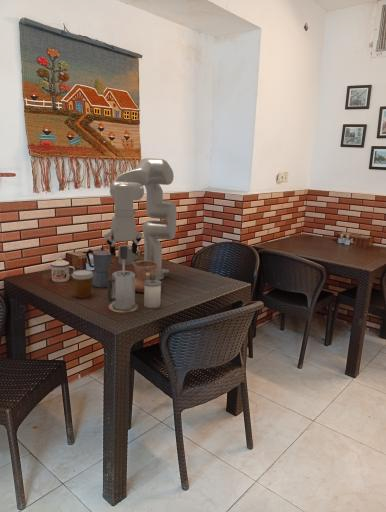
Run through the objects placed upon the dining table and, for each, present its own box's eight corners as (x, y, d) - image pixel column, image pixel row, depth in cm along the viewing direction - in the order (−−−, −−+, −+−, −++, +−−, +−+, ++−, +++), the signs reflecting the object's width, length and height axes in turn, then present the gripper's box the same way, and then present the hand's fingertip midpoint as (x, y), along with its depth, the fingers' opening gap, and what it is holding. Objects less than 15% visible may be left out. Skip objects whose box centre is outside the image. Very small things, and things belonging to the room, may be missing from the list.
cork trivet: (130, 301, 182) (130, 299, 182) (143, 310, 172) (143, 309, 171) (103, 305, 175) (103, 304, 175) (115, 316, 165) (115, 314, 164)
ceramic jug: (162, 296, 190) (163, 267, 187) (132, 296, 187) (133, 267, 184) (156, 284, 207) (157, 258, 204) (128, 285, 204) (129, 258, 200)
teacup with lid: (50, 282, 202) (49, 260, 199) (53, 277, 210) (52, 256, 207) (74, 282, 204) (73, 260, 201) (76, 277, 212) (75, 256, 210)
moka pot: (110, 289, 196) (110, 250, 191) (81, 286, 199) (80, 247, 194) (118, 283, 205) (117, 246, 200) (90, 280, 208) (89, 243, 203)
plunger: (125, 284, 173) (125, 245, 168) (128, 286, 170) (128, 247, 166) (119, 285, 171) (119, 246, 167) (121, 287, 169) (121, 247, 164)
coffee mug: (118, 264, 239) (118, 248, 236) (118, 260, 248) (118, 245, 246) (140, 264, 242) (140, 248, 239) (139, 260, 251) (139, 245, 249)
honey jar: (82, 302, 178) (82, 276, 175) (68, 297, 183) (67, 272, 180) (98, 296, 186) (97, 272, 183) (83, 292, 191) (83, 268, 188)
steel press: (129, 301, 180) (129, 269, 176) (138, 308, 172) (139, 275, 168) (103, 305, 173) (103, 272, 169) (112, 313, 165) (112, 279, 162)
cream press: (155, 302, 182) (156, 270, 178) (163, 308, 176) (164, 274, 172) (140, 305, 178) (141, 272, 174) (148, 311, 171) (149, 276, 168)
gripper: (138, 211, 171) (138, 250, 175) (100, 213, 161) (100, 253, 165) (146, 214, 165) (146, 254, 169) (107, 216, 155) (107, 258, 159)
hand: (123, 254), depth 167 cm, fingers open, 9 cm apart
